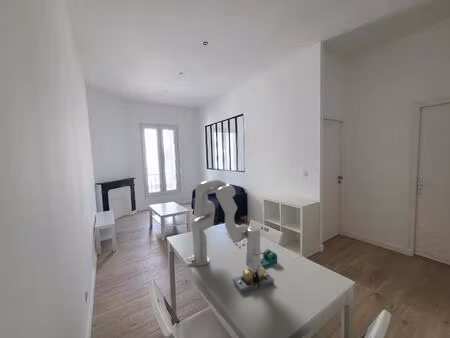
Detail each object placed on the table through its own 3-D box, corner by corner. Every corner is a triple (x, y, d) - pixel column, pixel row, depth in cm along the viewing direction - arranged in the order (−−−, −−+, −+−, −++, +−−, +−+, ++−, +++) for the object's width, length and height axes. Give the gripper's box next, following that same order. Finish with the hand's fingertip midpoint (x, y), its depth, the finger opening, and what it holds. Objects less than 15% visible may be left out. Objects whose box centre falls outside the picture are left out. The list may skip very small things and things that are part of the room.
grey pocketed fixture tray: (241, 294, 111) (240, 287, 111) (233, 282, 121) (233, 276, 121) (273, 284, 119) (273, 278, 118) (264, 274, 128) (264, 268, 128)
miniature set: (222, 231, 197) (234, 231, 202) (237, 249, 165) (251, 248, 169) (223, 225, 197) (235, 225, 201) (239, 241, 164) (252, 241, 169)
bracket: (270, 258, 147) (270, 248, 146) (277, 263, 141) (277, 252, 141) (250, 266, 138) (250, 255, 137) (256, 271, 132) (256, 259, 132)
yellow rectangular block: (246, 285, 116) (246, 273, 115) (243, 281, 120) (243, 269, 119) (264, 280, 120) (264, 268, 120) (261, 276, 124) (261, 265, 123)
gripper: (241, 244, 125) (241, 273, 126) (255, 258, 109) (255, 290, 111) (252, 242, 127) (252, 270, 129) (267, 255, 112) (267, 286, 113)
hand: (253, 279), depth 120 cm, fingers closed on yellow rectangular block, 4 cm apart
